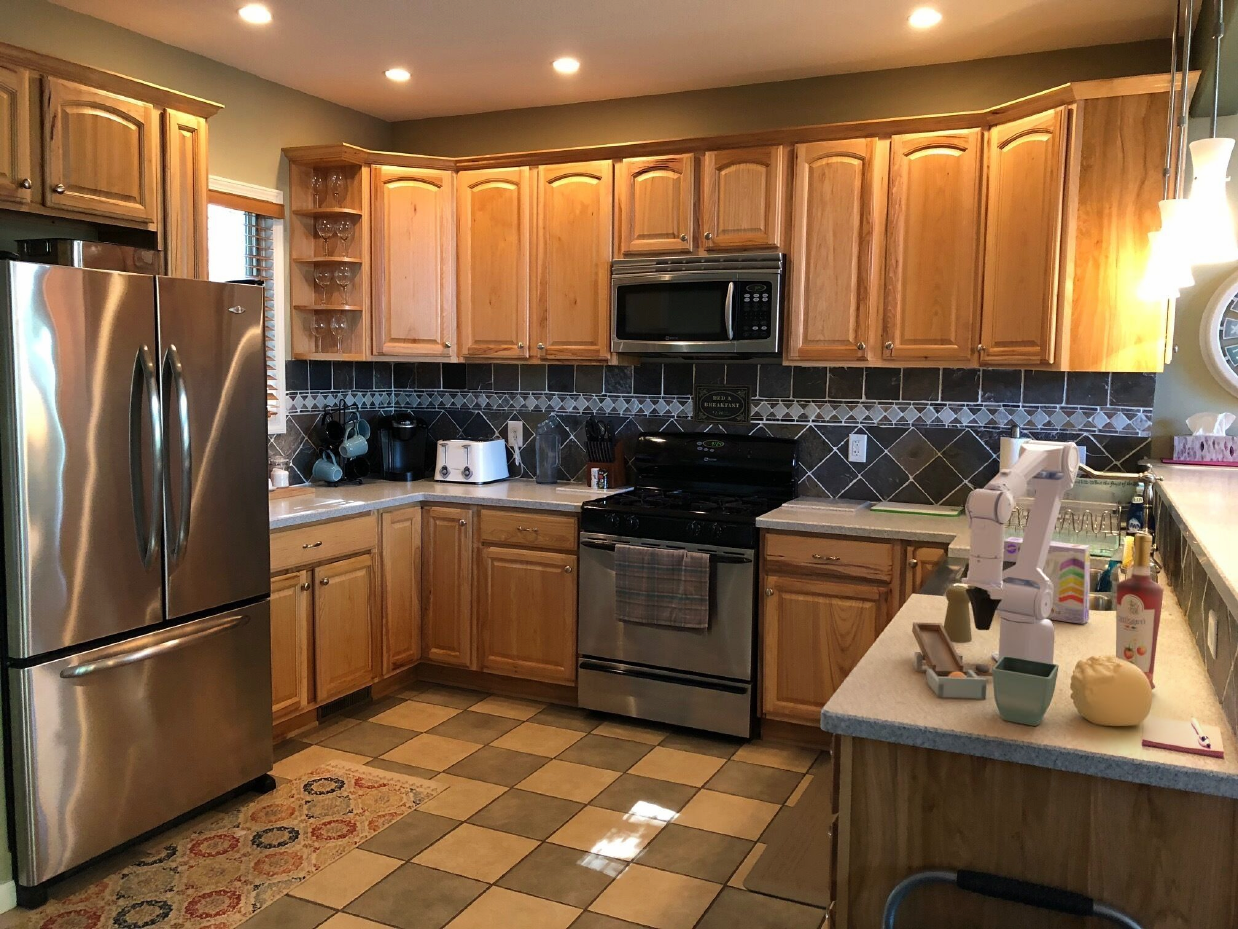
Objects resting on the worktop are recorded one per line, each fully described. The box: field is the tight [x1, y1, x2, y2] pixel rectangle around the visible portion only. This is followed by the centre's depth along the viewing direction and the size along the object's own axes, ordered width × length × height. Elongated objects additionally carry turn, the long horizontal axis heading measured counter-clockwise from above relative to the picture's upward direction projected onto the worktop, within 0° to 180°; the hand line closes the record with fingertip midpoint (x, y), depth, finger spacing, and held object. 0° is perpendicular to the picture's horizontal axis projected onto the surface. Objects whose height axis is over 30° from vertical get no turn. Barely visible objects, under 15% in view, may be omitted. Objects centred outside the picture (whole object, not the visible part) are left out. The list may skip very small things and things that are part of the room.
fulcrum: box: [913, 651, 964, 673], centre depth 187 cm, size 8×2×3 cm, turn 87°
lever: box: [912, 621, 993, 677], centre depth 188 cm, size 11×16×3 cm
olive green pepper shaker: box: [943, 585, 973, 643], centre depth 209 cm, size 6×6×11 cm
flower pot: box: [992, 656, 1060, 727], centre depth 161 cm, size 9×9×9 cm
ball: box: [947, 672, 967, 678], centre depth 174 cm, size 4×4×4 cm
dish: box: [925, 669, 988, 700], centre depth 175 cm, size 8×9×4 cm
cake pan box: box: [1002, 536, 1091, 625], centre depth 229 cm, size 19×5×18 cm, turn 49°
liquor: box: [1115, 533, 1164, 691], centre depth 176 cm, size 7×7×28 cm
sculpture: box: [1069, 653, 1153, 727], centre depth 161 cm, size 11×12×11 cm
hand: (982, 629), depth 181 cm, fingers closed
